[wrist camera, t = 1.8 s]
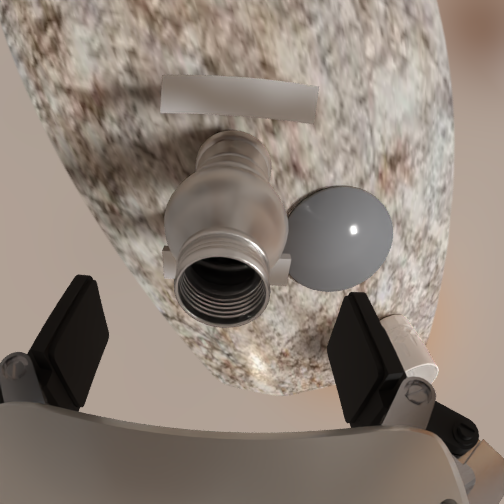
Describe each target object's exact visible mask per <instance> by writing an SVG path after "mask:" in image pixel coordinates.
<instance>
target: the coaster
mask: <svg viewBox="0 0 504 504" xmlns="http://www.w3.org/2000/svg"><path fill="white" fill-rule="evenodd" d="M392 239H393V226H392V221H391V218H390V215H389V213H388V211H387V209H386V208H385V207H384V205H383V204H382V203H381V202H380V201H379V200H378V199H377V198H376V197H375V196H373V195H372V194H371V193H369V192H367V191H365V190H362V189H360V188H356V187H351V186H335V187H330V188H326V189H323V190H320V191H318V192H316V193H314V194H312V195H310V196H309V197H307V198H306V199H304V200H303V201H302V202H301V203H299V204H298V205H297V206H296V208H295V209H294V210H293V211H292V212H291V214H290V215H289V216H288V237H287V241H286V244H285V247H284V250H283V252H282V253H284V254H290V256H291V264H290V269H289V274H290V275H291V276H292V277H293V278H294V279H295V280H296V281H297V282H299V283H300V284H302V285H303V286H305V287H307V288H310V289H313V290H318V291H325V292H333V291H341V290H345V289H348V288H351V287H354V286H356V285H358V284H360V283H362V282H363V281H365V280H367V279H368V278H369V277H371V276H372V275H373V274H374V273H375V272H376V271H377V270H378V269H379V268H380V266H381V265H382V264H383V262H384V261H385V259H386V257H387V255H388V253H389V251H390V248H391V244H392Z"/></svg>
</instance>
